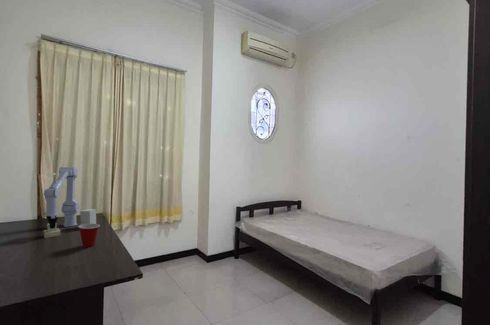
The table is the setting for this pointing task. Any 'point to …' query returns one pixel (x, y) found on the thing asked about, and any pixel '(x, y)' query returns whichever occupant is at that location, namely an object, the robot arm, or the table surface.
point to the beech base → (51, 233)
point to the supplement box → (88, 216)
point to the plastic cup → (88, 234)
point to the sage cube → (52, 228)
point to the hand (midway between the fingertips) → (52, 227)
